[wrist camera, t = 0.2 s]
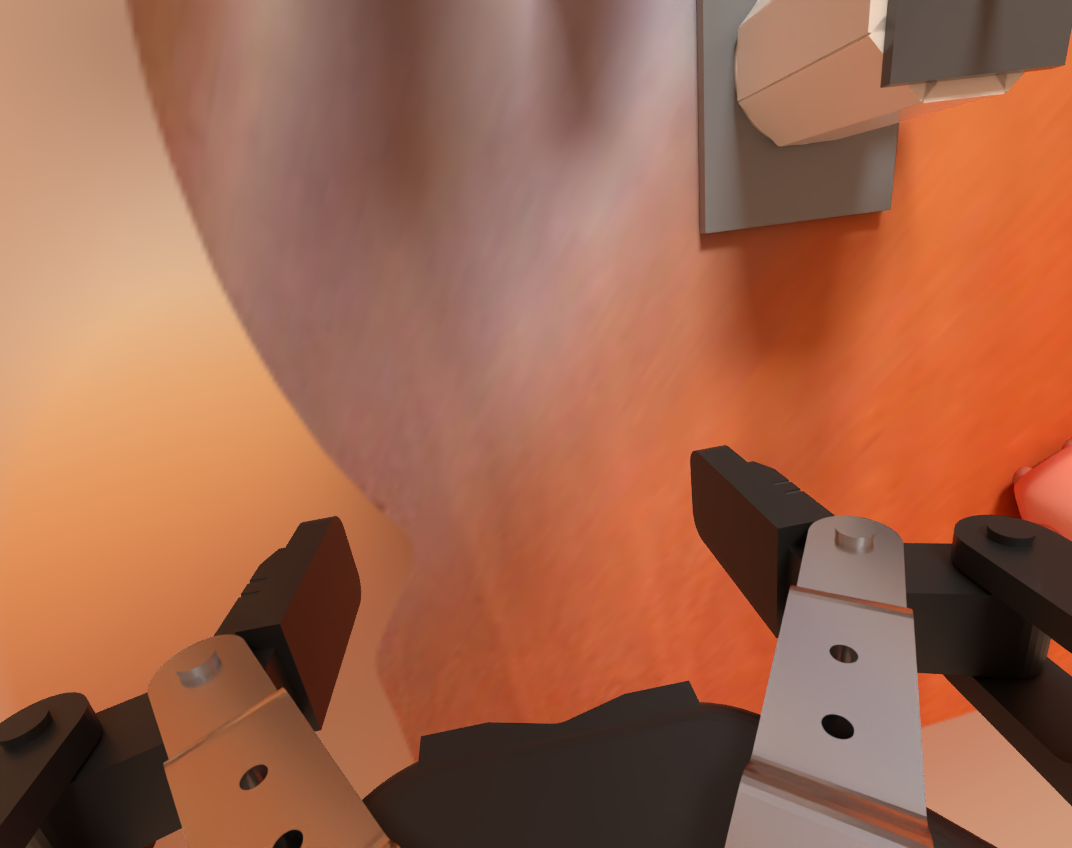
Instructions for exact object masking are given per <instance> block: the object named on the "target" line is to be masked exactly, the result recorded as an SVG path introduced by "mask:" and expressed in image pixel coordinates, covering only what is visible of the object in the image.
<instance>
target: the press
mask: <svg viewBox="0 0 1072 848" xmlns="http://www.w3.org/2000/svg"><path fill="white" fill-rule="evenodd" d="M1071 28H1072V0H757V1H756V3H755V4H754V6H753V7H752V8H751V10H750V11H749V13H748V15H747V17H746V18H745V19H744V21H743V22H742V23H741V25H740V26H739V29H738V40H737V44H736V49H735V54H734V67H733V71H734V84H735V90H736V94H737V101H739V103H738V104H739V105H740V106H741V108H742V110H743V112H744V114H745V115H746V117H747V119H748V120H749V121H750V123H751V124H752V125H753V126H754V127H755V128H756V129H757V130H758V131H759V132H760V133H761V134H763V135H764V136H766V137H767V138H769V139H771V140H773V141H774V143H775V144H776V145H777V146H779V147H781V146H789V145H804V144H809V143H815V142H823V141H832V140H837V139H841V138H845V137H848V136H852V135H856V134H859V133H863V132H867V131H870V130H874V129H878V128H881V127H885V126H888V125H892V124H896V123H899V122H903V121H907V120H910V119H914V118H918V117H921V116H925V115H928V114H932V113H936V112H939V111H943V110H947V109H950V108H954V107H958V106H961V105H965V104H968V103H972V102H976V101H979V100H983V99H987V98H990V97H994V96H998V95H1001V94H1004V93H1006V92H1007V91H1008V90H1009V89H1010V88H1011V87H1012V86H1013V85H1014V84H1015V82H1016V81H1017V80H1018V79H1019V78H1020V77H1021V76H1022V74H1023V73H1024V72H1029V71H1038V70H1046V69H1053V68H1056V67H1060V66H1063V65H1065V61H1066V55H1067V50H1068V45H1069V39H1070V34H1071Z"/></svg>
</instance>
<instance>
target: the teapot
mask: <svg viewBox="0 0 1072 848" xmlns="http://www.w3.org/2000/svg"><path fill="white" fill-rule="evenodd" d="M1012 481H1013V484H1014V494H1015V499H1016V502H1017V506H1018V509H1019V512H1020V515H1021V518H1022V520H1026V521H1030V522H1033V523H1036V524H1039V525H1041V526H1044V527H1046V528H1048V529H1050V530H1052V531H1054V532H1056V533H1058V534H1060V535H1061V536H1063V537H1065V538H1067V539H1069V540H1070V541H1072V438H1071V439H1069V440H1068V441H1067V442H1066V443H1065V444H1064V445H1063V447H1062V450H1060V451H1058V452H1057V453H1055V454H1053V455H1052V456H1050V457H1049V458H1047V459H1046V460H1044V461H1043V462H1041V463H1040V464H1039V465H1037V466H1036V467H1034V468H1031V467H1027V466H1026V467H1022V468H1020V469H1018V470H1017V471H1016V472H1015V474H1014V476H1013V480H1012Z"/></svg>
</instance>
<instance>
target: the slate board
mask: <svg viewBox="0 0 1072 848" xmlns="http://www.w3.org/2000/svg"><path fill="white" fill-rule="evenodd" d="M756 1H757V0H697V54H698V127H699V201H700V234H704V233H713V232H721V231H729V230H737V229H744V228H752V227H760V226H768V225H776V224H783V223H791V222H799V221H807V220H815V219H822V218H830V217H838V216H846V215H854V214H862V213H869V212H877V211H885V210H890V209H891V198H892V188H893V178H894V168H895V158H896V148H897V137H898V127H899V123H896V124H892V125H888V126H885V127H881V128H878V129H874V130H870V131H867V132H863V133H859V134H856V135H852V136H848V137H845V138H841V139H837V140H832V141H823V142H815V143H809V144H804V145H789V146H781V147H779V146H777V145H776V144H775V143H774V141H773V140H771V139H769V138H767V137H766V136H764V135H763V134H761V133H760V132H759V131H758V130H757V129H756V128H755V127H754V126H753V125H752V124H751V123H750V121H749V120H748V119H747V117H746V115H745V114H744V112H743V110H742V108H741V106H740V105H739V104H738V103H739V101H737V94H736V90H735V84H734V71H733V67H734V54H735V49H736V44H737V40H738V29H739V26H740V25H741V23H742V22H743V21H744V19H745V18H746V17H747V15H748V13H749V11H750V10H751V8H752V7H753V6H754V4H755V3H756Z"/></svg>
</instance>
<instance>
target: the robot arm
mask: <svg viewBox="0 0 1072 848" xmlns="http://www.w3.org/2000/svg"><path fill="white" fill-rule="evenodd" d="M690 466H691V485H692V504H693V516H694V521H695V525H696V528H697V531H698V533H699V535H700V537H701V539H702V540H703V542H704V543H705V544H706V546H707V547H708V548H709V550H710V551H711V552H712V553H713V555H714V556H715V557H716V559H717V560H718V561H719V563H720V564H721V565H722V567H723V568H724V569H725V571H726V572H727V573H728V575H729V576H730V577H731V579H732V580H733V581H734V583H735V584H736V585H737V586H738V588H739V589H740V590H741V592H742V593H743V594H744V596H745V597H746V598H747V600H748V601H749V602H750V604H751V605H752V606H753V608H754V609H755V610H756V612H757V613H758V614H759V616H760V617H761V618H762V619H763V621H764V622H765V623H766V625H767V626H768V627H769V629H770V630H771V631H772V633H773V634H774V635H775V637H776V638H778V642H777V646H776V651H775V655H774V660H773V664H772V668H771V673H770V677H769V682H768V686H767V690H766V695H765V699H764V704H763V708H762V712H761V715H759V714H756V713H753V712H750V711H748V710H745V709H741V708H737V707H733V706H728V705H723V704H716V703H705V702H699V701H698V699H697V696H696V694H695V692H694V690H693V688H692V686H691V684H690V682H689V681H685V682H680V683H675V684H671V685H666V686H661V687H656V688H651V689H647V690H642V691H637V692H632V693H627V694H624V695H621V696H619V697H617V698H615V699H613V700H611V701H608V702H606V703H604V704H602V705H600V706H598V707H595V708H593V709H591V710H589V711H587V712H585V713H583V714H580V715H578V716H576V717H574V718H572V719H570V720H567V721H565V722H562V723H558V724H534V723H489V722H488V723H483V724H479V725H474V726H469V727H464V728H459V729H455V730H450V731H445V732H440V733H435V734H431V735H426V736H421V743H420V752H419V761H418V762H416V763H414V764H412V765H410V766H408V767H407V768H405V769H403V770H401V771H400V772H398V773H396V774H395V775H393V776H392V777H390V778H389V779H387V780H386V781H385V782H383V783H382V784H381V785H379V786H378V787H377V788H376V789H374V790H373V791H372V792H371V793H370V794H369V795H367V796H366V797H365V798H364V799H363V800H361V799H360V797H359V795H358V794H357V793H356V791H355V790H354V788H353V787H352V785H351V784H350V782H349V781H348V779H347V778H346V777H345V775H344V774H343V772H342V771H341V769H340V768H339V766H338V765H337V763H336V762H335V761H334V759H333V758H332V756H331V755H330V753H329V752H328V750H327V749H326V748H325V746H324V745H323V743H322V742H321V740H320V739H319V737H318V736H317V734H316V733H315V731H319V730H321V729H322V725H323V722H324V719H325V716H326V712H327V709H328V706H329V703H330V699H331V696H332V693H333V689H334V686H335V683H336V679H337V677H338V673H339V670H340V667H341V663H342V660H343V657H344V654H345V650H346V647H347V644H348V641H349V638H350V634H351V631H352V628H353V625H354V621H355V618H356V615H357V612H358V608H359V605H360V600H361V586H360V579H359V575H358V571H357V568H356V565H355V562H354V559H353V555H352V552H351V549H350V546H349V543H348V540H347V536H346V533H345V530H344V527H343V524H342V522H341V520H340V519H339V518H338V517H337V516H334V517H328V518H324V519H318V520H312V521H308V522H302V523H300V525H299V526H298V528H297V530H296V531H295V533H294V534H293V536H292V538H291V539H290V541H289V543H288V544H287V546H286V548H281V549H278V550H277V551H276V552H275V553H274V554H272V555H271V556H270V557H269V558H267V559H266V560H265V561H264V562H263V563H262V564H261V565H260V566H259V567H258V569H257V570H256V572H255V573H254V575H253V576H252V578H251V580H250V584H247V586H246V587H245V589H244V590H243V592H242V593H241V597H240V598H238V600H237V601H236V603H235V604H234V606H233V607H232V609H231V610H230V612H229V614H228V615H227V617H226V618H225V620H224V621H223V623H222V624H221V626H220V627H219V629H218V631H217V632H216V633H215V635H214V636H213V637H210V638H207V639H204V640H201V641H199V642H197V643H194V644H192V645H190V646H188V647H187V648H185V649H183V650H181V651H180V652H178V653H177V654H176V655H174V656H173V657H171V658H170V659H169V660H168V661H167V662H165V663H164V664H163V665H162V666H161V667H160V668H159V669H158V670H157V672H156V673H155V674H154V675H153V677H152V678H151V680H150V683H149V685H148V689H147V691H148V692H147V693H145V694H143V695H140V696H138V697H135V698H133V699H130V700H128V701H125V702H123V703H120V704H118V705H115V706H113V707H110V708H108V709H105V710H103V711H100V712H98V713H95V712H94V710H93V709H92V707H91V705H90V703H89V701H88V700H87V698H86V697H85V696H84V695H83V694H81V693H75V692H74V693H63V694H59V695H56V696H52V697H49V698H46V699H43V700H41V701H39V702H36V703H34V704H32V705H30V706H28V707H26V708H24V709H22V710H21V711H19V712H17V713H15V714H14V715H12V716H11V717H9V718H7V719H6V720H4V721H3V722H1V723H0V848H153V847H154V845H155V842H156V840H158V839H160V838H162V837H165V836H166V835H169V834H171V833H173V832H175V831H177V830H179V829H181V828H182V829H183V832H184V835H185V838H186V842H187V845H188V848H997V847H995V846H994V845H992V844H989V843H988V842H986V841H985V840H983V839H981V838H979V837H978V836H976V835H974V834H973V833H971V832H969V831H967V830H966V829H964V828H962V827H960V826H958V825H957V824H955V823H953V822H951V821H950V820H948V819H946V818H944V817H943V816H941V815H939V814H937V813H936V812H934V811H932V810H931V809H929V808H927V807H926V799H925V784H924V770H923V754H922V739H921V723H920V708H919V693H918V678H917V673H932V674H943V675H944V676H945V677H946V679H947V680H948V681H949V682H950V683H951V684H952V685H953V686H954V687H955V688H956V689H957V690H958V691H959V692H960V693H961V694H962V695H963V696H964V697H965V698H966V699H967V700H968V701H969V702H970V703H971V704H972V705H973V706H974V707H975V708H976V709H977V710H978V711H979V712H980V713H981V714H982V715H983V716H984V717H985V718H986V719H987V720H988V721H989V722H990V723H991V724H992V725H993V726H994V727H995V728H996V729H997V730H998V731H999V733H1000V734H1001V735H1003V737H1005V739H1006V740H1007V741H1008V742H1009V743H1010V744H1011V745H1012V746H1013V747H1014V748H1015V749H1016V750H1017V751H1018V752H1019V753H1020V754H1021V755H1022V756H1023V757H1024V758H1025V759H1026V760H1027V761H1028V762H1029V763H1030V764H1031V765H1032V766H1033V767H1034V768H1035V769H1036V770H1037V771H1038V772H1039V773H1040V774H1041V775H1042V776H1043V777H1044V778H1045V779H1046V780H1047V781H1048V782H1049V783H1050V784H1051V785H1052V786H1053V787H1054V788H1055V789H1056V791H1058V793H1059V794H1060V795H1061V796H1062V797H1063V798H1064V799H1065V800H1066V801H1067V802H1068V803H1069V804H1070V805H1071V806H1072V676H1070V675H1069V674H1068V673H1067V672H1065V671H1064V670H1063V669H1061V668H1060V667H1059V666H1058V665H1056V664H1055V663H1054V662H1053V661H1051V660H1050V659H1049V658H1048V657H1047V653H1048V649H1049V644H1050V640H1051V638H1052V639H1053V640H1054V641H1056V642H1057V643H1058V644H1060V645H1061V646H1062V647H1064V648H1065V649H1066V650H1068V651H1069V652H1070V653H1072V541H1070V540H1069V539H1067V538H1065V537H1063V536H1061V535H1060V534H1058V533H1056V532H1054V531H1052V530H1050V529H1048V528H1046V527H1044V526H1041V525H1039V524H1036V523H1033V522H1030V521H1026V520H1022V519H1018V518H1013V517H1007V516H999V515H977V516H971V517H967V518H964V519H962V520H960V521H959V522H958V523H957V524H956V525H955V528H954V535H953V543H952V544H927V543H903V540H902V539H901V537H900V536H899V535H898V534H897V533H896V532H895V531H894V530H893V529H891V528H889V527H888V526H886V525H884V524H881V523H879V522H876V521H873V520H870V519H866V518H861V517H855V516H835V515H833V514H832V513H831V512H829V511H828V510H827V509H826V508H824V507H823V506H822V505H820V504H819V503H818V502H816V501H815V500H814V499H813V498H811V497H810V496H809V495H807V494H806V493H805V492H803V491H802V492H801V491H800V488H798V487H797V486H796V485H794V484H793V483H792V482H789V481H788V479H787V478H785V477H784V476H783V475H781V474H780V473H779V472H777V471H776V470H775V469H773V468H770V467H767V466H765V465H762V464H759V463H756V462H754V461H752V462H746V461H745V460H744V459H743V458H742V457H740V456H739V455H738V454H737V453H735V452H734V451H733V450H732V449H731V448H729V447H728V446H726V445H724V446H718V447H713V448H707V449H702V450H696V451H693V452H692V454H691V458H690Z"/></svg>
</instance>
